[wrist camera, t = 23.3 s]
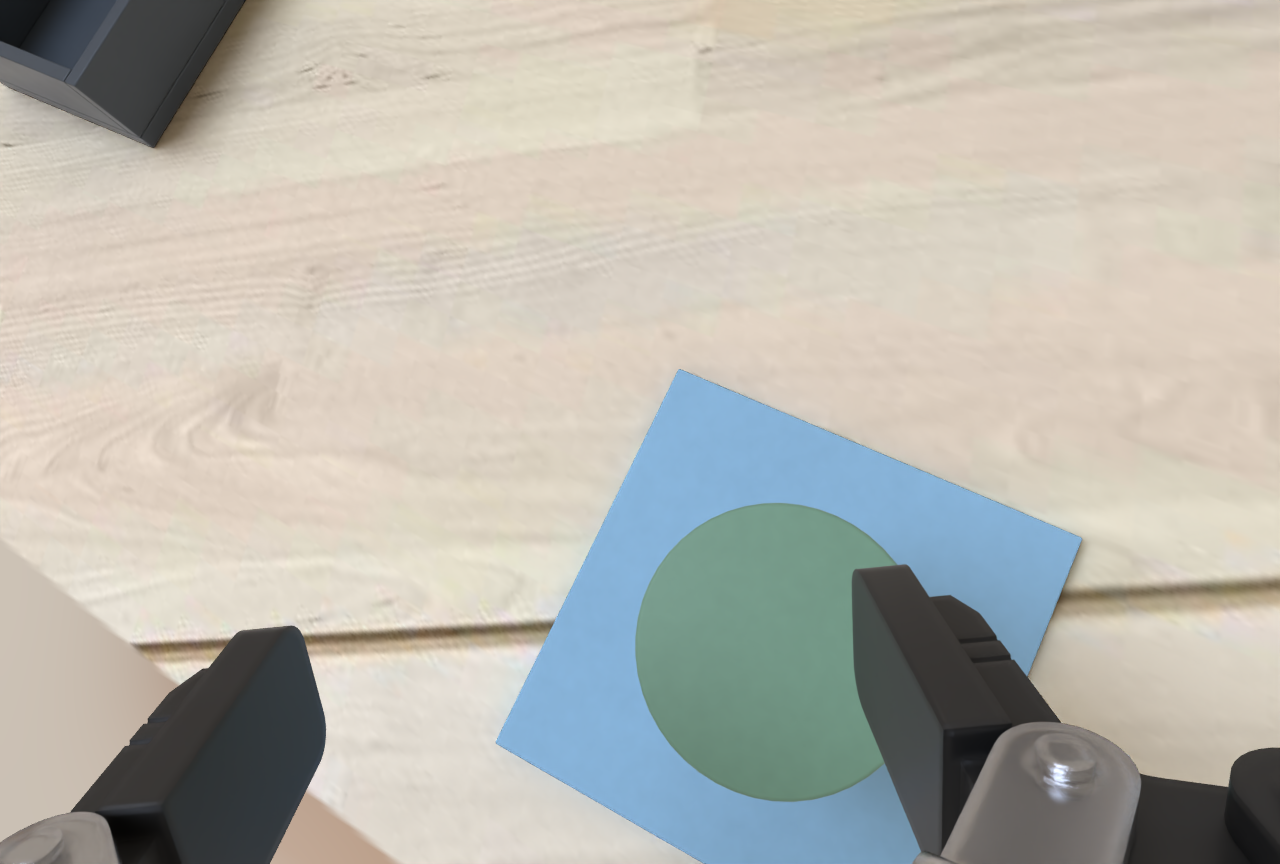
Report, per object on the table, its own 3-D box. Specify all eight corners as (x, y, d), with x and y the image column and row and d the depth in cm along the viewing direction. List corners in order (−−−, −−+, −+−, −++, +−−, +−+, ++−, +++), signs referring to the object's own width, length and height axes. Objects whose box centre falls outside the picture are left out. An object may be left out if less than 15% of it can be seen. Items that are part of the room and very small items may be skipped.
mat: (903, 974, 25) (906, 981, 24) (499, 741, 28) (494, 743, 28) (1077, 539, 27) (1083, 538, 26) (680, 372, 30) (678, 368, 30)
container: (724, 771, 27) (689, 843, 17) (662, 586, 28) (597, 557, 19) (909, 708, 26) (980, 746, 16) (834, 525, 28) (859, 462, 18)
